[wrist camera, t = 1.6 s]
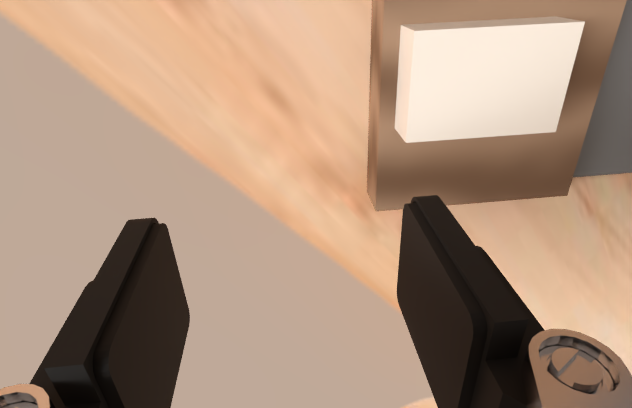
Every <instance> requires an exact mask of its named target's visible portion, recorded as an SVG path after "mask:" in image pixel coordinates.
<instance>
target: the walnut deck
mask: <svg viewBox="0 0 632 408" xmlns="http://www.w3.org/2000/svg"><path fill="white" fill-rule="evenodd" d="M626 1H627V0H372V26H371V63H370V100H369V136H368V173H367V192H368V195H369V197H370V199H371V202H372V204H373V206H374V209H375V211H385V210H397V209H403V208H404V205H405V204H406V203H411V200H412V198H413V197H418V196H431V195H438V196H439V197H440V198H441V200H442V201H443V203H444V204H445V205H458V204H470V203H482V202H494V201H506V200H518V199H530V198H542V197H555V196H567V194H568V191H569V188H570V184H571V181H572V178H573V175H574V171H575V168H576V165H577V162H578V158H579V155H580V152H581V148H582V145H583V142H584V139H585V135H586V132H587V129H588V126H589V122H590V119H591V116H592V112H593V109H594V106H595V103H596V99H597V96H598V93H599V90H600V86H601V83H602V80H603V76H604V73H605V70H606V67H607V63H608V60H609V57H610V54H611V50H612V47H613V44H614V41H615V37H616V34H617V31H618V27H619V24H620V21H621V18H622V14H623V11H624V8H625V5H626ZM537 17H562V18H568V19H573V20H579V21H585V24H584V28H583V31H582V35H581V39H580V43H579V46H578V50H577V54H576V58H575V61H574V65H573V69H572V73H571V76H570V80H569V84H568V88H567V91H566V95H565V99H564V103H563V107H562V110H561V114H560V118H559V122H558V125H557V129H556V132H550V133H537V134H523V135H509V136H495V137H481V138H467V139H454V140H440V141H426V142H412V143H406V142H405V141H404V140H403V139H402V137H401V136H400V135H399V133H398V132H397V131H396V129H395V114H396V97H397V80H398V64H399V47H400V30H401V25H408V24H426V23H445V22H463V21H482V20H500V19H519V18H537Z"/></svg>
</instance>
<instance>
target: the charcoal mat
mask: <svg viewBox="0 0 632 408" xmlns="http://www.w3.org/2000/svg"><path fill="white" fill-rule="evenodd" d="M620 173H632V0H627V1H626V5H625V8H624V11H623V14H622V18H621V21H620V24H619V27H618V31H617V34H616V37H615V41H614V44H613V47H612V50H611V54H610V57H609V60H608V63H607V67H606V70H605V73H604V76H603V80H602V83H601V86H600V90H599V93H598V96H597V99H596V103H595V106H594V109H593V112H592V116H591V119H590V122H589V126H588V129H587V132H586V135H585V139H584V142H583V145H582V148H581V152H580V155H579V158H578V162H577V165H576V168H575V171H574V175H573V177H583V176H595V175H608V174H620Z"/></svg>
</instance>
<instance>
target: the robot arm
mask: <svg viewBox="0 0 632 408" xmlns="http://www.w3.org/2000/svg"><path fill="white" fill-rule="evenodd" d="M397 298H398V303H399V306H400V309H401V311H402V314H403V317H404V319H405V322H406V325H407V327H408V330H409V332H410V335H411V338H412V340H413V343H414V346H415V348H416V351H417V354H418V356H419V359H420V361H421V364H422V367H423V369H424V372H425V374H426V377H427V380H428V383H429V385H430V388H431V390H432V393H433V396H434V398H435V401H436V404H437V406H438V408H632V376H631V374H630V372H629V370H628V368H627V367H626V366H625V364H624V363H623V361H622V360H621V358H620V357H618V356H617V355H616V354H615V353H614V352H613V351H612V350H611V349H610V348H609V347H607V346H605V345H604V344H602V343H601V342H599V341H597V340H596V339H594V338H592V337H589V336H587V335H584V334H582V333H580V332H575V331H571V330H567V329H549V330H544V329H543V328H542V326H541V325H540V324H539V322H538V321H537V320H536V318H535V317H534V316H533V314H532V313H531V312H530V310H529V309H528V308H527V306H526V305H525V304H524V302H523V301H522V300H521V298H520V297H519V296H518V294H517V293H516V292H515V290H514V289H513V288H512V286H511V285H510V284H509V282H508V281H507V280H506V278H505V277H504V276H503V274H502V273H501V272H500V270H499V269H498V268H497V266H496V265H495V264H494V262H493V261H492V260H491V258H490V257H489V256H488V254H487V253H486V252H485V251H484V250H483V249H482V248H481V247H479V246H475V245H474V244H473V242H472V241H471V239H470V238H469V237H468V235H467V234H466V233H465V231H464V230H463V229H462V227H461V226H460V224H459V223H458V222H457V220H456V219H455V218H454V216H453V215H452V213H451V212H450V211H449V209H448V208H447V207H446V205H445V204H444V203H443V201H442V200H441V198H440V197H439V196H438V195H431V196H418V197H413V198H412V200H411V203H406V204H405V205H404V208H403V219H402V231H401V244H400V257H399V269H398V282H397ZM189 321H190V315H189V308H188V305H187V301H186V297H185V293H184V289H183V285H182V281H181V278H180V274H179V270H178V266H177V262H176V259H175V255H174V251H173V247H172V243H171V240H170V236H169V232H168V228H167V226H166V224H164V223H162V224H159V223H158V221H157V219H155V218H146V219H135V220H128V221H127V222H126V224H125V226H124V228H123V230H122V231H121V233H120V235H119V237H118V238H117V240H116V242H115V244H114V245H113V247H112V249H111V251H110V252H109V254H108V256H107V258H106V260H105V261H104V263H103V265H102V267H101V268H100V270H99V272H98V274H97V275H96V277H95V279H94V280H93V281H91V282H89V283H88V285H87V286H86V287H85V289H84V290H83V292H82V294H81V296H80V297H79V299H78V301H77V302H76V304H75V306H74V308H73V310H72V311H71V313H70V315H69V316H68V318H67V320H66V321H65V323H64V325H63V327H62V328H61V330H60V332H59V334H58V336H57V337H56V339H55V341H54V342H53V344H52V346H51V347H50V349H49V351H48V353H47V355H46V356H45V358H44V360H43V361H42V363H41V365H40V366H39V368H38V370H37V372H36V373H35V375H34V377H33V379H32V380H31V382H30V384H17V385H13V386H8V387H4V388H2V389H0V408H170V407H171V402H172V398H173V394H174V389H175V385H176V380H177V376H178V372H179V367H180V363H181V358H182V354H183V349H184V345H185V341H186V337H187V332H188V327H189Z"/></svg>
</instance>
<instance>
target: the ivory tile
mask: <svg viewBox="0 0 632 408" xmlns="http://www.w3.org/2000/svg"><path fill="white" fill-rule="evenodd" d="M584 24H585V21H579V20H573V19H568V18H562V17H537V18H519V19H500V20H482V21H463V22H445V23H426V24H408V25H401V30H400V47H399V64H398V80H397V97H396V114H395V129H396V131H397V132H398V133H399V135H400V136H401V137H402V139H403V140H404V141H405V142H406V143H412V142H426V141H440V140H454V139H467V138H481V137H495V136H509V135H523V134H537V133H550V132H556V129H557V125H558V122H559V118H560V114H561V110H562V107H563V103H564V99H565V95H566V91H567V88H568V84H569V80H570V76H571V73H572V69H573V65H574V61H575V58H576V54H577V50H578V46H579V43H580V39H581V35H582V31H583V28H584Z"/></svg>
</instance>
